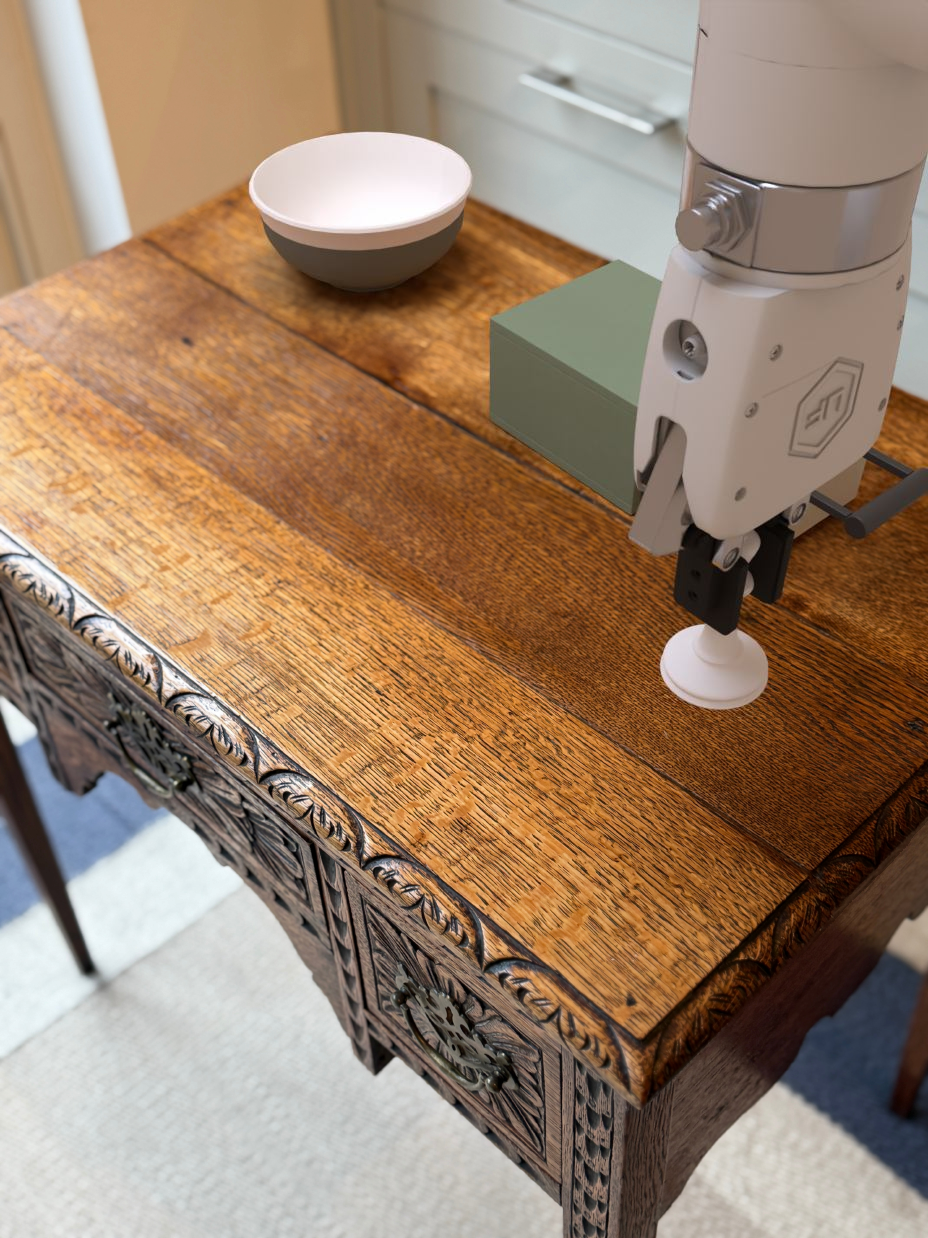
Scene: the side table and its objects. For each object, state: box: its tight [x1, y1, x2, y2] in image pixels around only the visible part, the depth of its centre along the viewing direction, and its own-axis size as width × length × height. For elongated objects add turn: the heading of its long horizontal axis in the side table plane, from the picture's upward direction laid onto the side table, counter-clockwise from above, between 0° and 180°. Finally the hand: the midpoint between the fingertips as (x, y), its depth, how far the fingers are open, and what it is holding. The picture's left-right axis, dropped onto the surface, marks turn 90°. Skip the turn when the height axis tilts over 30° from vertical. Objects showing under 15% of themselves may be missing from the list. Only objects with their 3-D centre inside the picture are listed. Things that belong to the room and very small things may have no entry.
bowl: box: [248, 131, 474, 293], centre depth 101 cm, size 19×19×8 cm
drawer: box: [788, 446, 928, 540], centre depth 76 cm, size 19×11×7 cm, turn 40°
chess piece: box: [659, 530, 769, 711], centre depth 51 cm, size 5×5×10 cm
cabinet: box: [489, 259, 663, 516], centre depth 83 cm, size 15×13×9 cm
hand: (726, 598), depth 52 cm, fingers closed on chess piece
